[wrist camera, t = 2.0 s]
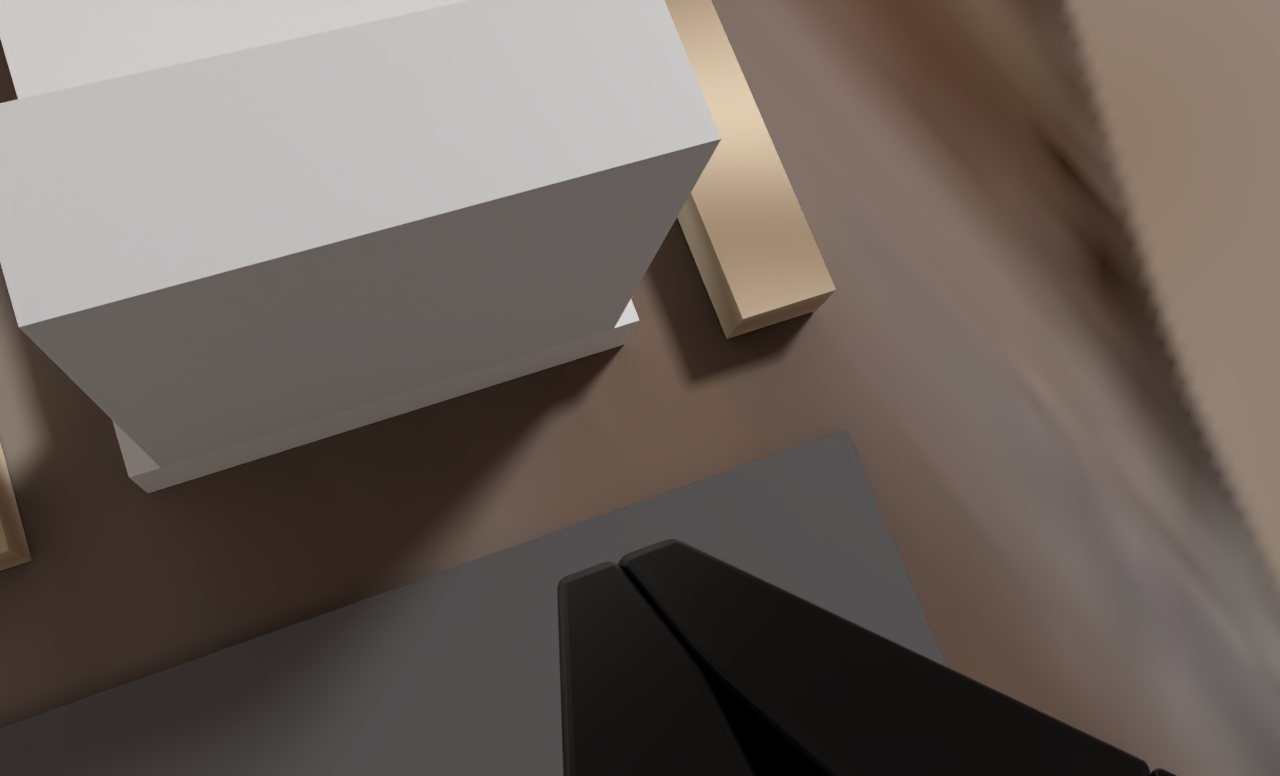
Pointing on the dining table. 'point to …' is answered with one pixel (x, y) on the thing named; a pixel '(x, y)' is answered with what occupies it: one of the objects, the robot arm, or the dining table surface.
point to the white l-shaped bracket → (331, 204)
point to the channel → (691, 220)
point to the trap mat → (474, 644)
